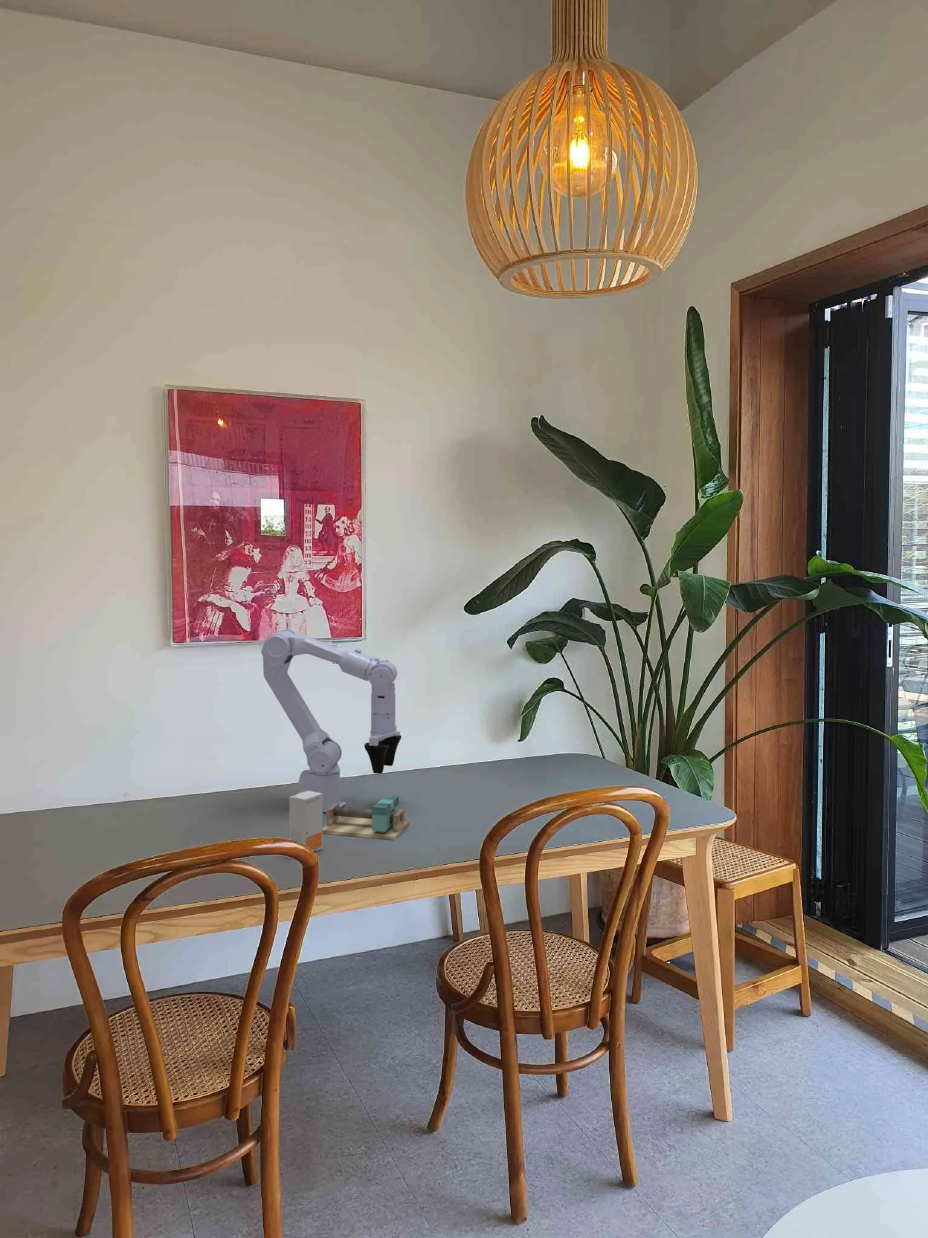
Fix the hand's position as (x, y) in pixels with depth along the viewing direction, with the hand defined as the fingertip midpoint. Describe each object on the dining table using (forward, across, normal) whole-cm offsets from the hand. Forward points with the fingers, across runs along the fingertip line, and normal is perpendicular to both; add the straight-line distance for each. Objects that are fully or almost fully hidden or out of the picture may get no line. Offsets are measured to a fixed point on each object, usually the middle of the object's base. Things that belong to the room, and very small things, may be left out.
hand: (383, 769), depth 231 cm
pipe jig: (+10, -15, -1) cm, 18 cm away
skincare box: (+10, -32, +6) cm, 34 cm away
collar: (+9, -15, -6) cm, 18 cm away
